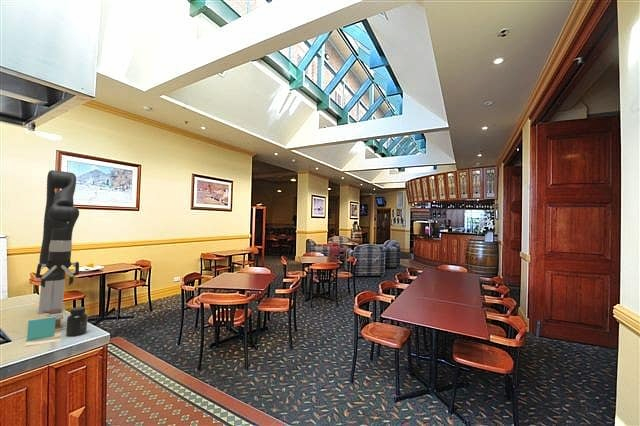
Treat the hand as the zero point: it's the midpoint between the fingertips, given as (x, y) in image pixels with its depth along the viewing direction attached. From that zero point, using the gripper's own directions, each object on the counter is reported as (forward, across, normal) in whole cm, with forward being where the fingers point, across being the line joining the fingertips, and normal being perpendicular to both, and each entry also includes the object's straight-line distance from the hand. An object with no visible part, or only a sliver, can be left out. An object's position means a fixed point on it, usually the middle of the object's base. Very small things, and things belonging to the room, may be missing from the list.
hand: (57, 285), depth 127 cm
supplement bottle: (+20, -7, +13) cm, 25 cm away
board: (+20, +3, +6) cm, 21 cm away
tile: (+19, +4, +11) cm, 22 cm away
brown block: (+19, 0, +1) cm, 19 cm away
